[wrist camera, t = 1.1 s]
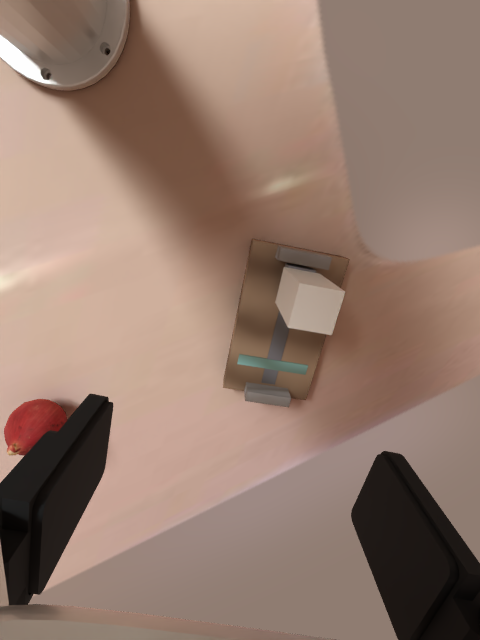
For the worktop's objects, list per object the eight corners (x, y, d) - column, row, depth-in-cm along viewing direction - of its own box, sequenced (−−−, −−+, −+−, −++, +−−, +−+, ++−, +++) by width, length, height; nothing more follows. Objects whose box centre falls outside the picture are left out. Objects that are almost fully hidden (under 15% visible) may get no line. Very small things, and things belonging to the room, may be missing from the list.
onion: (85, 398, 38) (50, 445, 31) (69, 432, 40) (31, 484, 32) (39, 378, 37) (-10, 421, 30) (23, 413, 39) (-26, 463, 31)
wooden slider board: (252, 238, 32) (255, 242, 29) (342, 256, 33) (357, 262, 30) (223, 378, 38) (223, 397, 34) (302, 390, 39) (309, 410, 35)
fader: (281, 262, 31) (300, 280, 23) (316, 268, 31) (346, 289, 23) (272, 299, 32) (287, 329, 24) (305, 305, 33) (331, 337, 25)
